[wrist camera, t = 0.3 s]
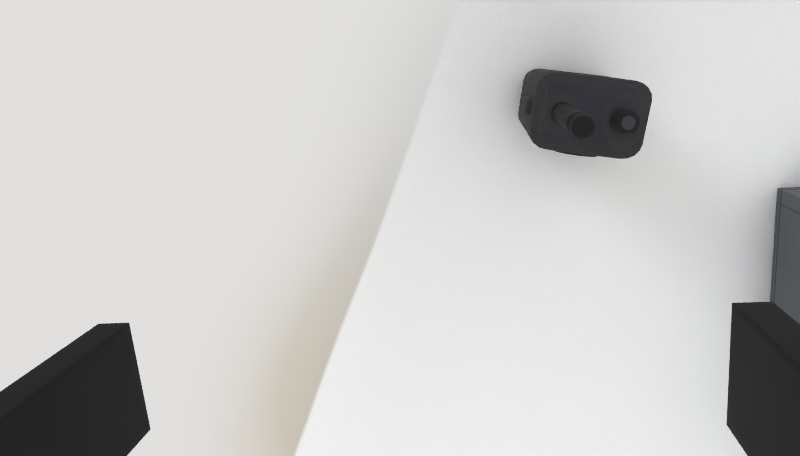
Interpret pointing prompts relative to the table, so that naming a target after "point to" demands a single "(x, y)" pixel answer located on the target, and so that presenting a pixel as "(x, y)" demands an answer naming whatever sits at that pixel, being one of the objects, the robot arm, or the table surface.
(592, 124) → the walkie-talkie
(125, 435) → the robot arm
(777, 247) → the organizer
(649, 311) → the table surface
